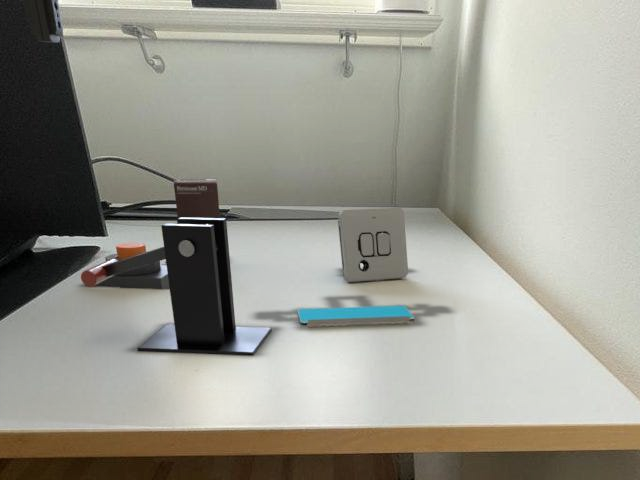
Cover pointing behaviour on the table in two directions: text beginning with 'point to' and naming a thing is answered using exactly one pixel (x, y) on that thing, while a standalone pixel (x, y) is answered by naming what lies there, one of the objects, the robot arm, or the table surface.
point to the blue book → (355, 316)
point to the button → (129, 250)
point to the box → (196, 198)
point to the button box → (139, 277)
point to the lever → (122, 266)
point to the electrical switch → (373, 244)
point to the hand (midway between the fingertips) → (48, 41)
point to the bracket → (201, 293)
